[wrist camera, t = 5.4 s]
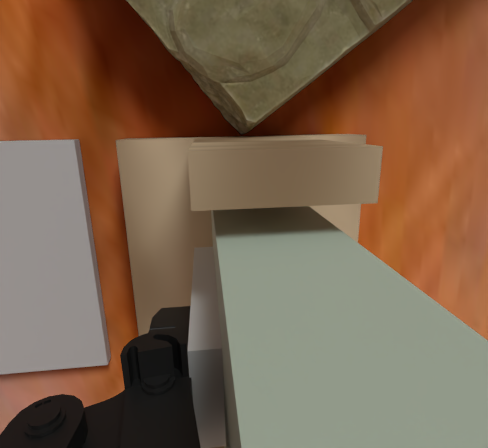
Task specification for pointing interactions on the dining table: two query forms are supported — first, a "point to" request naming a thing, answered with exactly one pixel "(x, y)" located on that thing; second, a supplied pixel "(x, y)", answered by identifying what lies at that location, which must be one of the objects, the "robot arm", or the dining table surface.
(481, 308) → the dining table surface
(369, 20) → the decorative tile
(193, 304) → the robot arm
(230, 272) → the pale green block
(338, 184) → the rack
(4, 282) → the felt mat
